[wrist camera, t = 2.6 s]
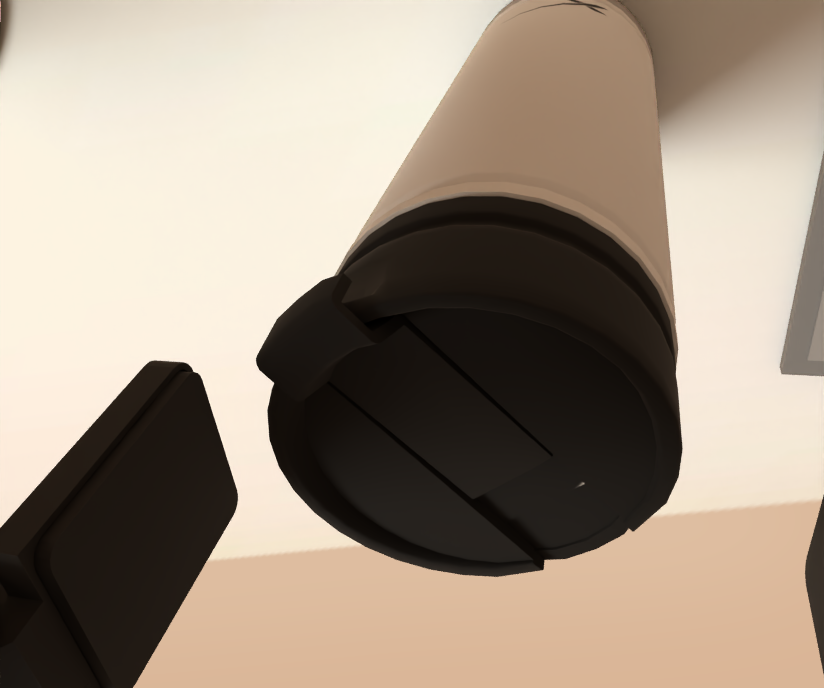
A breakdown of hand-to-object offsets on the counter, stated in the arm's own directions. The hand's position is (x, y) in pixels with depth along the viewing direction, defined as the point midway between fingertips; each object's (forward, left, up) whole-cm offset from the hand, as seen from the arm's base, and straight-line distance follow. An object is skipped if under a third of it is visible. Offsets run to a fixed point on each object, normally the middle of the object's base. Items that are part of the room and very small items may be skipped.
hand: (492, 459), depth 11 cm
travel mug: (0, -1, -20) cm, 20 cm away
